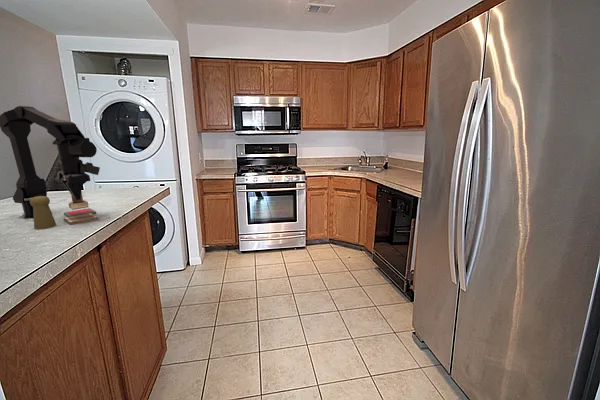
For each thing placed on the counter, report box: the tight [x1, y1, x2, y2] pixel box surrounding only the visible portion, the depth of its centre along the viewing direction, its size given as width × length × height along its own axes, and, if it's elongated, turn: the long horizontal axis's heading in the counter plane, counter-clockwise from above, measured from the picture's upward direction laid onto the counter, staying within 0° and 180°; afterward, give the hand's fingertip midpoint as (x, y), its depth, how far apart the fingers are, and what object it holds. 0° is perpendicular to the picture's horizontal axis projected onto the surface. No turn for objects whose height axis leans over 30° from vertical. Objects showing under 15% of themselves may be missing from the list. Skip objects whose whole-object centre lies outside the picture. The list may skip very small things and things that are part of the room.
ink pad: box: [63, 207, 98, 218], centre depth 118 cm, size 9×9×1 cm
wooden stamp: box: [68, 191, 90, 211], centre depth 108 cm, size 5×5×9 cm
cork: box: [30, 196, 57, 230], centre depth 101 cm, size 6×6×11 cm
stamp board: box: [63, 213, 100, 226], centre depth 110 cm, size 9×9×1 cm
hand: (77, 198), depth 108 cm, fingers closed on wooden stamp, 3 cm apart
